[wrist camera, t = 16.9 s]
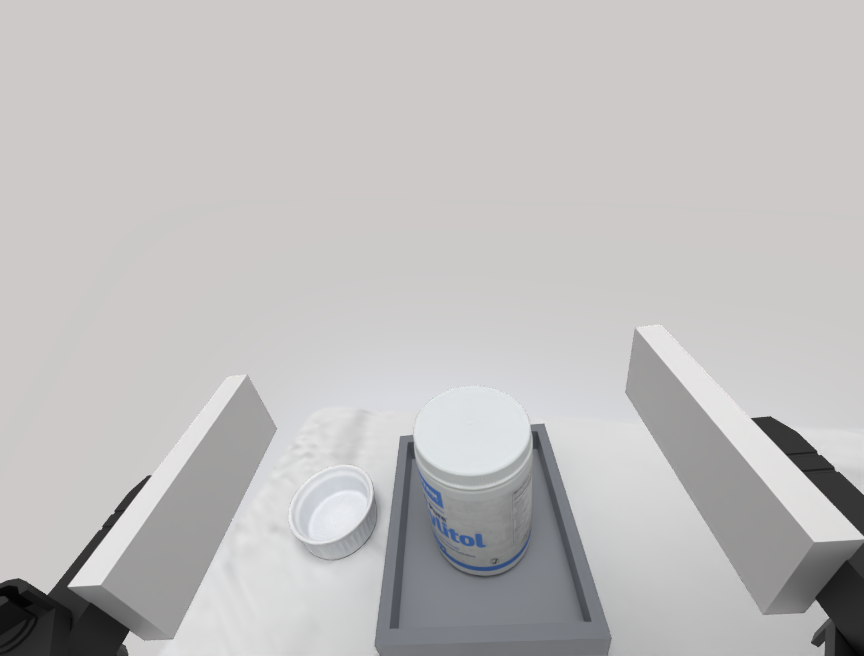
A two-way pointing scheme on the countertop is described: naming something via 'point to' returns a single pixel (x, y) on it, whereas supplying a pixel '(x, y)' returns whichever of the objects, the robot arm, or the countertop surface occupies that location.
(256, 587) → the countertop surface
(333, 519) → the ramekin
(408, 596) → the tray
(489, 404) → the supplement tub
